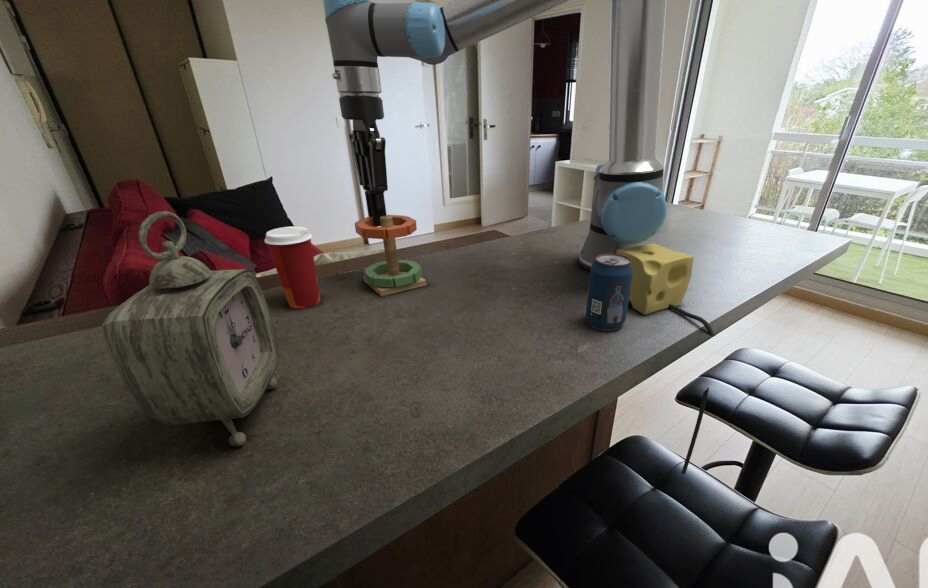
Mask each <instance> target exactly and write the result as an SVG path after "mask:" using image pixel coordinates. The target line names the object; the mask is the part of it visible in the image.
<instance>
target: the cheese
mask: <svg viewBox="0 0 928 588" xmlns="http://www.w3.org/2000/svg"><path fill="white" fill-rule="evenodd" d="M616 254H619V255H623V256H626V257H628V258H630V260H631V266H632V269H633V275H632V282H631V288H630V295H629V301H628V304H631V306H632V308H633V309H634V310H636V311H637V312H638V313H640V314H642V315H644V316H645V315H649V314H652V313H655V312H658V311H662V310H666V309H670V308H669V305H670V304H672V305H674V306H676V307H678V306H681V305H682V302H683V300H684V298H685V296H686V293H687V290H688V288H689V284H690V281H691V279H692V273H693V266H694V255H691V254H688V253H684V252H680V251H676V250H673V249H670V248H667V247H665V246H662V245H659V244H657V243H655V242H653V243H646V244H642V245H641V246H637V247H632V248H625V249H618V250H617V252H616Z"/></svg>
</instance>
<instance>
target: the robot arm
mask: <svg viewBox="0 0 928 588" xmlns="http://www.w3.org/2000/svg"><path fill="white" fill-rule="evenodd" d="M569 1H570V0H453V1H450V2H448V3H446V4H444V5H442V6H441V7H438V5H437V4H434V3H429V2H421V1H414V2H387V3H386V2H385V3H383V2H382V3H378V2H373V1H372V0H323V8H324V16H325V17H324V21H325V24H326V28H327V33H328V39H329V45H330V50H331V57H332V61H333V62H332V65H333V69H334V72H333V73H332V75H331V76H332V79H333V80H336V86H337V91H338V93H340V94H341V96H339V98H338V101H339V108H340V113H341V117H342V118H343V119H344V120H349V121H352V131H351V133H349V135H348V138H349V141H350V144H351V148H352V152H353V157H354V162H355V167H356V173H357V177H358V183H359V185H360V187H362V189H363V190H364V196H365V202H366V208H367V215H368V216H367V217H373V223H374V226H379V227H381V222H380V217H382V216H387V215H388V214H387V207H386V200H385V192H387V191H388V189H389V186H388V173H387V172H388V171H387V159H386V138H385V137H384V136H383V137H381V135H380V131H379V129H378V125H377V120H379V121H380V120H383V119H384V118H385V112H384V105H383V104H384V103H383V99H382V98H381V96H379V95H380V94H381V93H382V84H381V76H380V68H379V64H378V57H380V58H386V57H388V58H409V59H412V60H413V59H414V60H416V61H420V62H422V63H424V64H426V65H430V66H435V65H440V64H442V63H444V62H445V61H446V60H448V58H449V57H450V56H453V55H454V54H456V53H458V52H460V51H461V50H464V49H466V48H469V47H471V46H472V45H475V44H477V43H479V42H482V41H484V40H485V39H488V38H490V37H492V36H494V35H497V34H499V33H501V32H504V31H505V30H508V29H511V28H512V27H514V26H516V25H519V24H521V23H523V22H525V21H528V20H530V19H532V18H534V17H536V16H539V15H541V14H543V13H545V12H548V11H550V10H552V9H554V8H556V7H558V6H561V5H563V4H564V3H567V2H569ZM609 2H610V3H609V53H608V55H609V56H608V57H609V60H608V61H609V62H608V112H607V113H608V120H607V121H608V122H607V123H608V124H607V159H606V161H605V163H599V164H598V165H596V167H595V172H594V175H593V181H594V182H593V183H594V184H593V191H592V192H593V194H592V200H591V201H592V203H591V212H590V221H589V222H590V223H589V231H588V234H587V236H586V239H585V241H584V243H583V245H582V248H581V250H580V252H579V255H578V257H579V258H578V264H579V265H580V267H582V268H584V269H585V270H588V271H590V270H591V266H592V264H593V263H594V261H595V258H596V256H598V255H600V254H607V253H610V254H616V252H617V250H618V249H625V248H632V247H637V246H641V245H643V244H642V243H643V242H645V241H648V240H649V239H651V238H652V237H654V236H655V235H656V234H657V233H658V232H659V231H660V230H661V228H662V227H663V225H664V223H665V221H666V219H667V213H668V206H667V200H666V197H665V194H664V193H663V189H664V188H663V185H664V173H665V171H664V170H665V165H664V164H663V163H662V161H661V160H660V159H659V158H658V157H657V148H658V147H657V146H658V134H659V133H658V131H659V119H660V117H659V116H660V103H661V102H660V101H661V88H662V87H661V86H662V75H663V74H662V71H663V57H664V44H665V43H664V42H665V28H666V15H667V13H666V12H667V0H609ZM668 309H671V310H674V311H675V312H677V313H679V314H681V315H682V316H684V317H687V318H690V319H693V320H696V321H697V322H699V323H701V324H702V326H704V327H705V329H706V330H707V332H708V335H709V336H710V337H715V333H714V331H713V328H712V327H711V325H710V323H709V322H708V321H707V320H706V319H705V318H703V317H701V316H699V315H696V314H693V313H690V312H688V311H686V310H684V309H682V308H680V307H678V306H674V305H672V304H670V305H669V308H668ZM709 389H710V386H708V387H707V388H706V390H704V391H703V393H702V398H701V403H700V406H699V411H698V415H697V419H696V422H695V427H694V430H693V434H692V437H691V439H690V440H691V441H690V444H689V447H688V450H687V453H686V457H685V460H684V463H683V466H682V470H681V473H682V474H685V475H686V473H687V470H688V467H689V464H690V460H691V457H692V455H693V451H694V448H695V445H696V441H697V438H698V434H699V431H700V428H701V425H702V420H703V416H704V413H705V409H706V405H707V400H708V395H709Z"/></svg>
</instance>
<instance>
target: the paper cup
mask: <svg viewBox="0 0 928 588" xmlns="http://www.w3.org/2000/svg"><path fill="white" fill-rule="evenodd" d="M312 238H313V235H312V234H311V233H310V230H309V228H307V227H305V226H298V225H297V226H295V225H293V226H282V227H277V228H273V229H270V230H268V231H266V233H265V238H264V243H265V244H267V247H268V249H269V252H270V254H271V258H272V261H273V264H274V267H275V270H276V273H277V276H278V278H279V282H280V284H281V286H282V290H283V292H284V296H285V298H286V301H287V303H288V306H289V307H290V308H292V309H297V310H298V309H308V308H312V307H314V306H317V305H318V304H319V303H320V302H321V295H320V288H319V281H318V275H317V269H316V268H317V267H316V263H315V256H314V250H313V244H312Z"/></svg>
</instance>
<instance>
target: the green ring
mask: <svg viewBox="0 0 928 588" xmlns="http://www.w3.org/2000/svg"><path fill="white" fill-rule="evenodd" d="M398 265H399V270H404V271H409V272H408V273H404V274H400V275H395V276H386V275H378V274H380V273H382V272H387V264H386V260H384V261H379V262H375V263H371V265H369V266H368V267H366V269H364V270H363V276H365V280H366V281H367V282H369V283H370V284H371V285H374V286H378V287H393V286H395V287H399V286H403V285H407V284H411V283H414V282H416V281H417V280H418V279H419V278H420V277H422V276H423V268H422V265H421V264H420V263H417V262H416V261H415V260H413V261H412V260H408V259H398Z"/></svg>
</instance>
